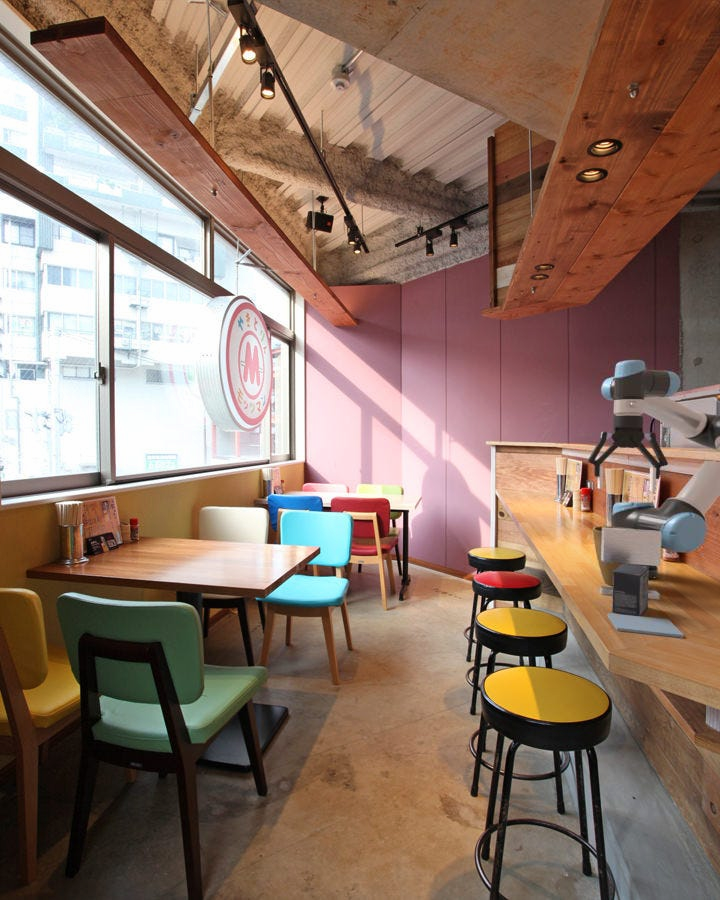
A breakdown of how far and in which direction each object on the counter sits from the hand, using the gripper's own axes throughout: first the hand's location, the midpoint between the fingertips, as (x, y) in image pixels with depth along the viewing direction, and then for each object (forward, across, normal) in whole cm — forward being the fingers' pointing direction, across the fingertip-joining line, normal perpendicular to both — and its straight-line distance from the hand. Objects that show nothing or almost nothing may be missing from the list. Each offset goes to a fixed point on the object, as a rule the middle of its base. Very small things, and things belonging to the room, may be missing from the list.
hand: (625, 489), depth 142 cm
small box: (+29, -3, -20) cm, 35 cm away
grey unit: (+28, 0, -7) cm, 29 cm away
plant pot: (+29, 0, +4) cm, 29 cm away
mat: (+28, -3, -32) cm, 43 cm away
